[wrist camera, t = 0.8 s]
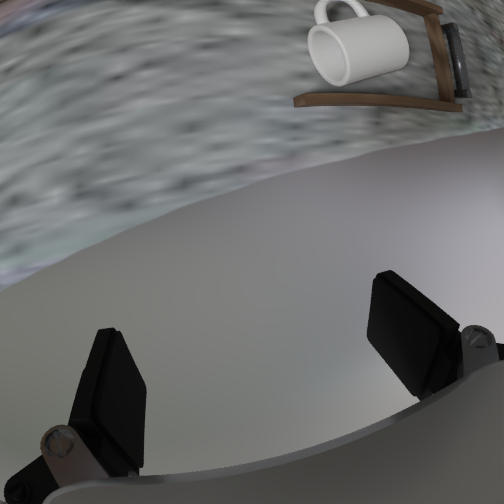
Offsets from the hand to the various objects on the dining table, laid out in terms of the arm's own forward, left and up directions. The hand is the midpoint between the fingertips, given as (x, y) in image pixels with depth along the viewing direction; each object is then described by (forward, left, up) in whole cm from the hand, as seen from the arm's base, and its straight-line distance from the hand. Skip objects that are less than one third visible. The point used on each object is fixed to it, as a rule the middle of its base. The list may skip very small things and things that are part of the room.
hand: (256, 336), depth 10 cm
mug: (-18, +19, -27) cm, 38 cm away
